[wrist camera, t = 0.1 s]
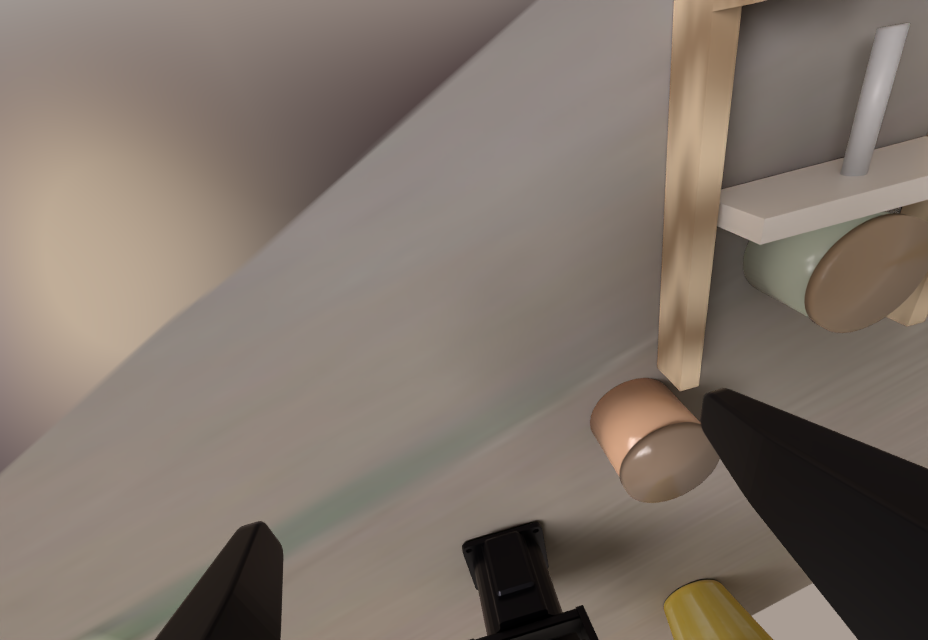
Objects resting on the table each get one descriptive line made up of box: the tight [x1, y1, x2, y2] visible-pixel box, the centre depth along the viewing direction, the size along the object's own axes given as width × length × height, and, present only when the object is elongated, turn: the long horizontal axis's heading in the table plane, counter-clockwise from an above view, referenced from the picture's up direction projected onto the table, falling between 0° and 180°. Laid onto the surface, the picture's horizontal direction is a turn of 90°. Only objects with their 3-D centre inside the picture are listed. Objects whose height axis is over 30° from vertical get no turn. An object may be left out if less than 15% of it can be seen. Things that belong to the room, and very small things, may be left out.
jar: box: [590, 378, 720, 503], centre depth 28 cm, size 6×6×5 cm
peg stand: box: [717, 23, 928, 245], centre depth 19 cm, size 7×13×4 cm, turn 102°
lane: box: [657, 0, 928, 391], centre depth 21 cm, size 21×16×5 cm
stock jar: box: [743, 211, 928, 333], centre depth 23 cm, size 6×6×5 cm
